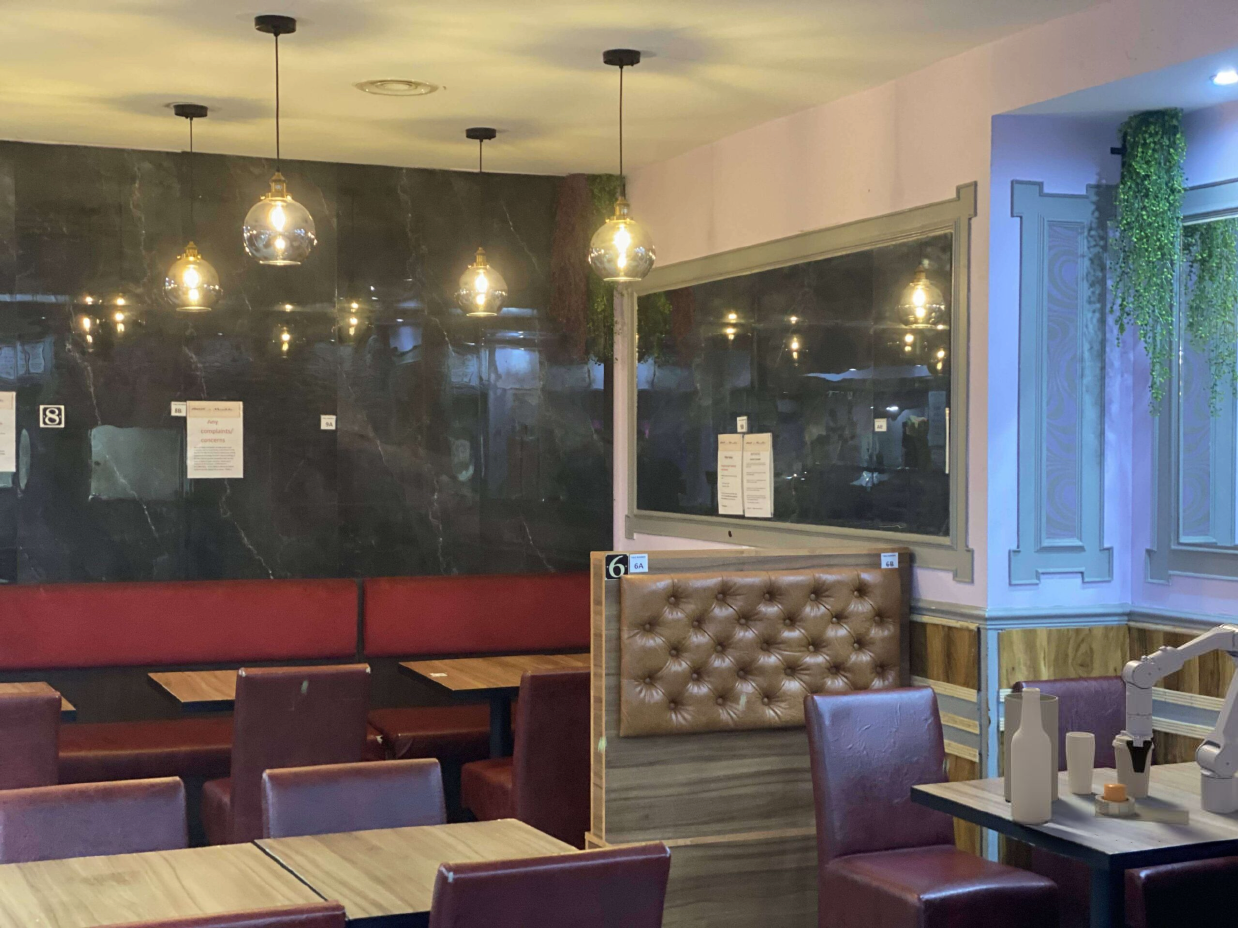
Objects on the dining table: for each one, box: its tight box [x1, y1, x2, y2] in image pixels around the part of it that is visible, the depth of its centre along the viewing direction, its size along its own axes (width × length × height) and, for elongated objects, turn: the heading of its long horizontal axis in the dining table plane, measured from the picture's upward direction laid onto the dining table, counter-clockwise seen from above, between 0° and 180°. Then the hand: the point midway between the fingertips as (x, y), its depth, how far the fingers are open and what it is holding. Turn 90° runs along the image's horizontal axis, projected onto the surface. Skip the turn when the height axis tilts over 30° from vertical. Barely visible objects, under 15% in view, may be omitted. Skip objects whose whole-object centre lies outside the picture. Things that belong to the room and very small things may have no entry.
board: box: [1093, 805, 1190, 826], centre depth 329 cm, size 20×14×1 cm
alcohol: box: [1010, 687, 1052, 826], centre depth 327 cm, size 9×9×30 cm
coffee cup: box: [1111, 734, 1155, 799], centre depth 348 cm, size 10×10×15 cm
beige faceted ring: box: [1094, 793, 1136, 816], centre depth 331 cm, size 9×9×3 cm
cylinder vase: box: [1003, 692, 1059, 803], centre depth 346 cm, size 12×12×25 cm
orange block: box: [1103, 782, 1126, 802], centre depth 331 cm, size 5×5×6 cm
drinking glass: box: [1065, 731, 1096, 795], centre depth 351 cm, size 7×7×15 cm
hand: (1139, 772), depth 332 cm, fingers closed
